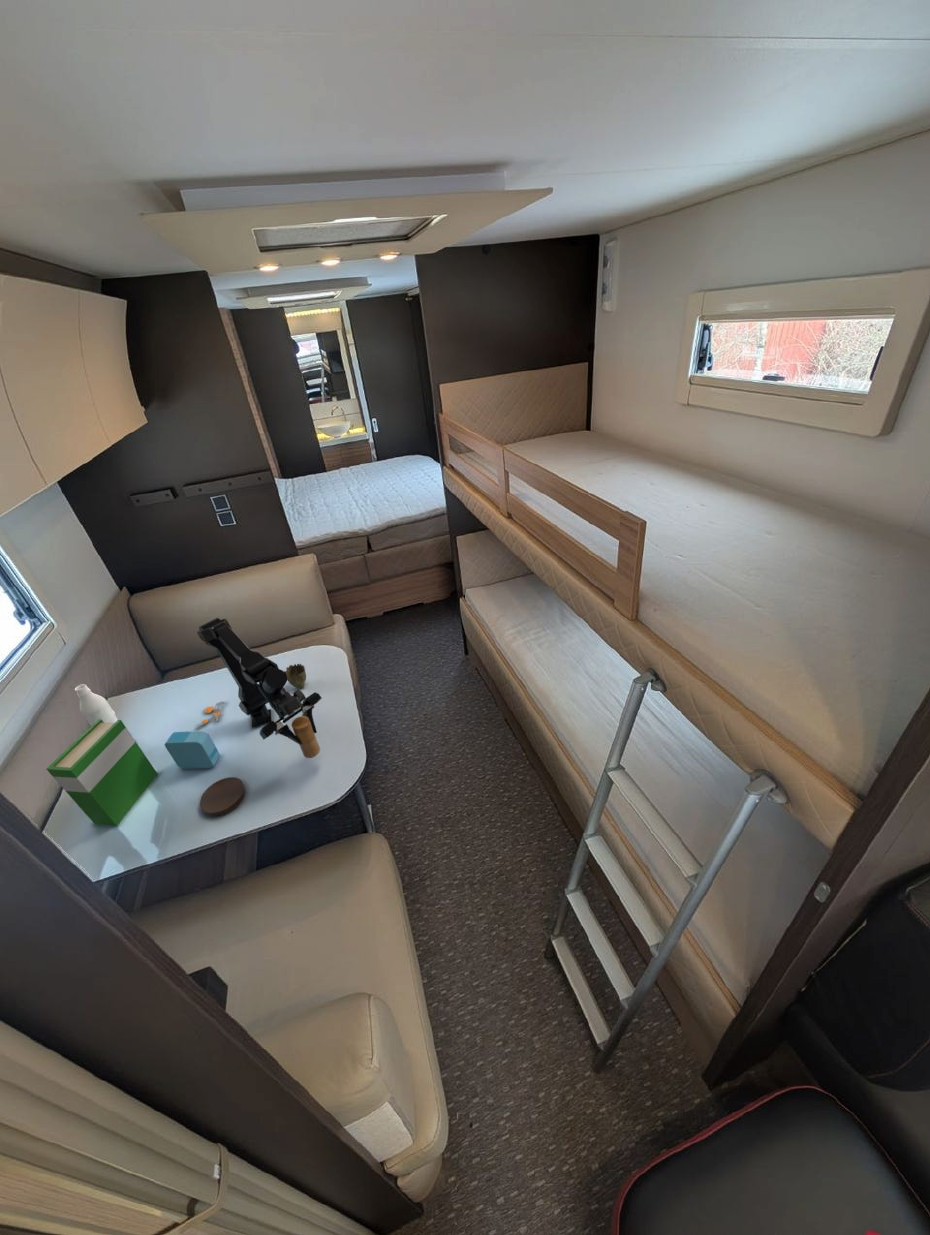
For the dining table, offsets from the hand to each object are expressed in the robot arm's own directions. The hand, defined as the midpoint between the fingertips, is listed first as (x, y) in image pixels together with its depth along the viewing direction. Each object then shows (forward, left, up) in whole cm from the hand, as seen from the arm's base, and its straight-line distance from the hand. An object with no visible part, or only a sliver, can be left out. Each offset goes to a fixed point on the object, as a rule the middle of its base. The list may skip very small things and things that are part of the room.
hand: (308, 738), depth 139 cm
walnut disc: (0, -28, -12) cm, 30 cm away
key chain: (-40, -34, -12) cm, 54 cm away
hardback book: (-13, -56, -13) cm, 59 cm away
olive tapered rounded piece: (-42, -3, -13) cm, 44 cm away
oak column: (-1, -1, -7) cm, 7 cm away
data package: (-18, -36, -13) cm, 42 cm away
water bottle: (-41, -64, -13) cm, 77 cm away
